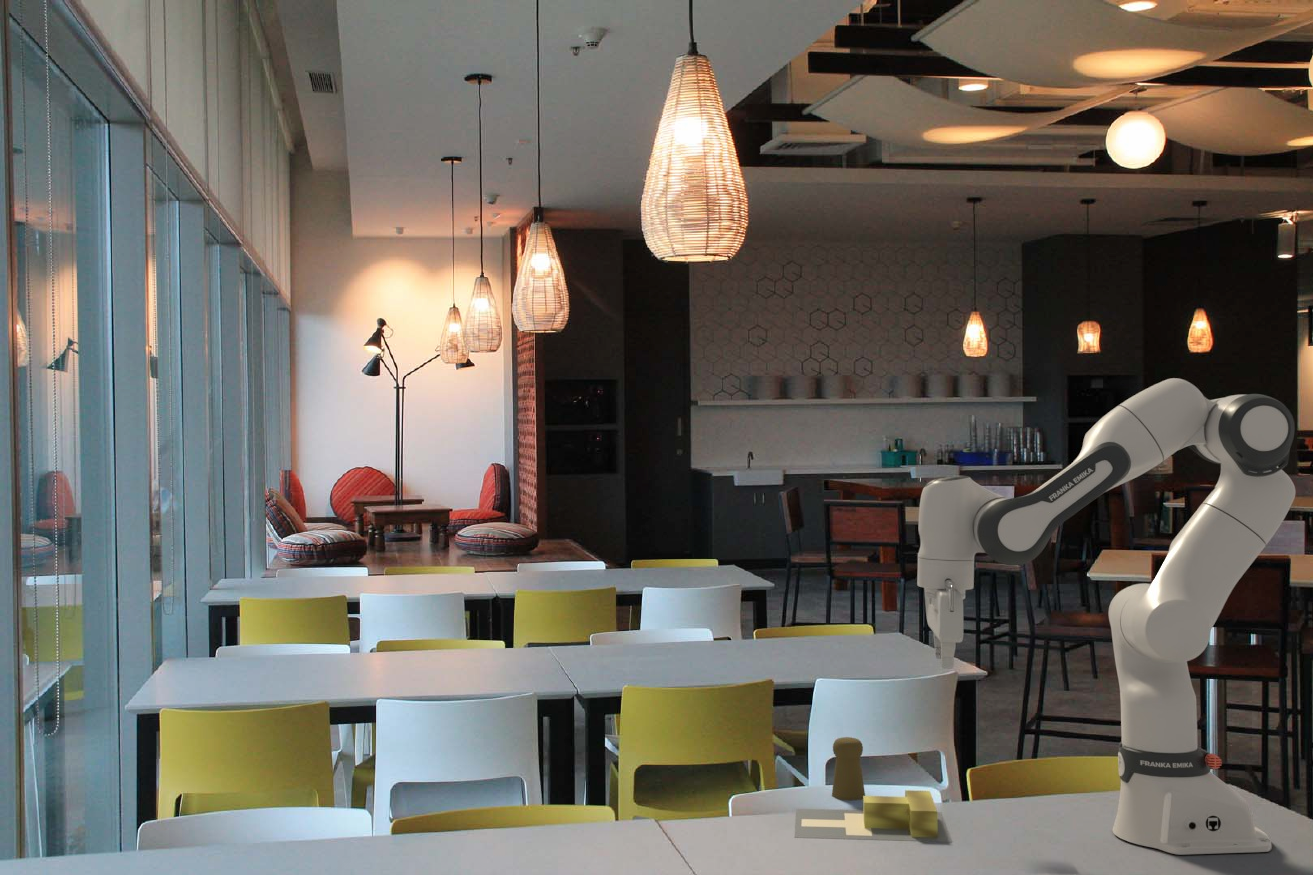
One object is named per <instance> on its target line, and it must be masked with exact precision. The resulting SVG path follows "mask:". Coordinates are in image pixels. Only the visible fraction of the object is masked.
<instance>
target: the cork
mask: <svg viewBox="0 0 1313 875" xmlns="http://www.w3.org/2000/svg"><path fill="white" fill-rule="evenodd" d="M863 751H864V747H863V743H862V741H861V740H859V739H858V738H855V737H850V736H845V737H839V738H837V739H836V738H835V741H834V742H833V744H832V752H833V754H834V756H835V766H834V772H833V773H834V774H833V783H832V792H831V797H832V798H835V799H837V800H842V801H860V800H863V796H866V793H865V792H866V791H865V783H864V778H863V777H864V776H863V771H862V764H861V756H862V755H863Z"/></svg>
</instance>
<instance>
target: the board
mask: <svg viewBox="0 0 1313 875" xmlns="http://www.w3.org/2000/svg"><path fill="white" fill-rule="evenodd" d="M794 823H795V824H794V838H795V839H796V838H797V839H825V840H827V839H828V840H830V839H831V840H858V841H859V840H862V841H867V840H868V841H900V842H903V841H905V842H929V843H930V842H931V843H932V842H933V843H939V842H940V843H953V839H952V836H951V835H950V832H949V830H948V826H947V823H946V821H945V819H944V816H943V813H942V812H941V811H937V826H938V838H937V837H911V833H910V830H909V829H885V828H865V827H864V815H863V809H862V810H859V809H826V808H825V809H823V808H822V809H821V808H795V822H794Z"/></svg>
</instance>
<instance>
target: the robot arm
mask: <svg viewBox="0 0 1313 875" xmlns="http://www.w3.org/2000/svg"><path fill="white" fill-rule="evenodd" d="M1295 429H1296V428H1295V420H1294V417H1293V414H1292V413H1291V411H1290V410H1289V409H1288V408H1287V406H1286V405H1285V404H1284V403H1282V401H1279V400H1278V399H1276V398H1274V397H1271V396H1268V395H1265V394H1259V393H1250V394H1234V395H1228V396H1225V397H1220V398H1214V399H1208V398H1207V397H1206V396H1204V394H1203V392H1201V391H1200V389H1199V388H1198V387H1197V386H1195V385H1194V384H1193V383H1191V382H1189V381H1188V380H1186V379H1182V378H1175V377H1173V378H1167V379H1165V380H1162V381H1160V382H1158V383H1155V384H1153V385H1151V386H1149V387H1148V388H1145V389H1143V390H1142V391H1139V392H1138V393H1136V394H1135V395H1132V396H1131V397H1129V398H1128V399H1126V400H1124V401H1123V402H1121V403H1120V404H1118V405H1117V406H1115V407H1114V408H1113V409H1111V410H1110V411H1109V412H1107V413H1106V414H1105V415H1103V416H1102V417H1101V418H1100V419H1099V420H1098V421H1096V423H1095V424H1094V425H1093V426H1092V427H1091V428H1090V429H1089V430H1088V431H1087V432H1086V433H1085V435H1084V438H1083V442H1082V447H1081V450H1080V452H1079V454H1078V455H1077V457H1076V458H1075V459H1074V460H1073V462H1071V464H1069V465H1067V466H1066V467H1065V468H1064V469H1062V470H1061V471H1060V472H1058V473H1057V474H1055V475H1054V476H1053V477H1051V478H1050V479H1049V480H1047V481H1046V482H1044V483H1043V484H1042V485H1040V486H1039V487H1038V488H1036V489H1035V490H1033V491H1032V492H1030V493H1027V494H1026V495H1023V496H1018V497H1013V498H1009V497H1006V496H1003V495H1001V494H998V493H996V492H994V491H992V490H990V489H987V488H986V487H984V486H983V485H980V484H979V483H977V482H976V481H974V480H973V479H972V478H971V477H970V476H967V475H956V476H945V477H939V478H936V479H933V480H930V481H929V482H927V483H926V485H924V487H923V488H922V491H921V495H920V502H919V508H918V509H919V510H918V524H917V525H918V535H919V539H920V540H919V541H920V547H919V549H918V553H917V576H916V579H917V582H916V584H917V586H918V587H920V588H923V589H924V601H925V602H924V603H925V614H926V621H927V625H928V627H929V628H930V630H931V631H932V632H933V644H934V657H935V658H936V659H937V660H940V666H941V668H942V669H950V670H951V669H953V668H954V663H955V662H954V660H955V659H954V657H955V653H956V649H957V648H956V646H957V645H956V644H958V643H962V642H963V639H964V600H965V599H966V591H968V590H973V589H974V586H975V585H974V583H975V580H974V579H975V556H976V554H977V553H983V554H984V553H985V554H986V555H987V556H988V557H989V558H991V559H992V560H993V561H995V562H996V563H998V564H1003V565H1005V566H1021V565H1026V564H1028V563H1030V562H1031V561H1034V560H1035V559H1036V558H1037V557H1038V556H1039V555H1040V554H1041V553H1042V552H1043V551H1044V549H1045V547H1046V546H1047V545H1048V542H1050V541H1049V540H1050V538H1052V536H1053V534H1054V533H1055V531H1056V530H1057V529H1058V528H1059V527H1060V526H1061V525H1062V524H1063V523H1064V522H1065V521H1067V520H1069V519H1070V518H1071V517H1073V516H1074V515H1076V514H1077V513H1078V512H1079V511H1081V510H1082V509H1083V508H1085V507H1086V506H1088V505H1090V503H1092V502H1093V501H1094V500H1096V499H1097V498H1099V497H1101V495H1103V494H1104V493H1106V492H1108V491H1110V490H1112V489H1114V488H1116V487H1119V486H1120V485H1122V484H1126V483H1127V482H1130V481H1132V480H1133V479H1135V478H1138V477H1140V476H1142V475H1144V474H1145V473H1146V472H1148V471H1150V470H1152V469H1154V468H1155V467H1156V466H1158V465H1160V464H1161V463H1162V462H1164V461H1165V460H1167V459H1168V458H1169V457H1171V456H1172V455H1174V454H1175V453H1176V452H1177V451H1180V450H1182V449H1184V448H1186V447H1187V448H1188V449H1190V450H1191V451H1193V453H1195V454H1196V455H1198V456H1199V457H1200V458H1202V459H1203V460H1205V461H1207V462H1210V463H1212V464H1217V465H1220V472H1219V473H1220V475H1219V477H1218V480H1217V483H1216V484H1215V486H1214V489H1213V490H1211V492H1210V493H1209V494H1208V496H1206V498H1205V499H1204V500H1203V502H1202V503H1201V504H1200V505H1199V506H1198V508H1197V510H1196V511H1195V512H1194V513H1193V515H1191V517H1190V518H1189V520H1187V522H1186V523H1185V524H1184V526H1183V527H1182V528H1181V529H1180V531H1179V532H1178V533H1177V535H1176V536H1175V537H1174V538H1173V539H1172V541H1171V542H1170V545H1169V548H1168V552H1167V554H1166V557H1165V559H1164V561H1163V563H1162V565H1161V566H1160V568H1159V570H1158V572H1157V574H1156V575H1155V578H1154V579H1153V580H1152V582H1151V583H1146V582H1145V583H1144V582H1142V583H1136V584H1131V585H1130V586H1126V587H1125V588H1123V589H1121V590H1120V591H1118V592H1117V593H1116V594H1115V596H1114V597H1113V598H1112V600H1111V601H1110V604H1109V607H1108V620H1109V626H1110V629H1111V638H1112V647H1113V648H1112V649H1113V654H1114V662H1115V667H1116V673H1117V680H1118V684H1119V695H1120V696H1119V697H1120V722H1121V723H1120V728H1121V732H1120V733H1121V741H1120V742H1119V743H1118V752H1117V759H1118V760H1117V761H1118V762H1117V763H1118V766H1117V768H1118V775H1119V778H1120V788H1119V789H1120V790H1119V800H1118V806H1117V812H1116V816H1115V820H1114V824H1113V827H1112V833H1113V834H1114V835H1115V836H1116V837H1118V838H1120V839H1121V840H1124V841H1127V842H1129V843H1132V844H1136V845H1139V846H1142V847H1143V846H1144V847H1148V848H1153V849H1157V850H1160V851H1163V852H1166V853H1169V854H1174V855H1183V856H1184V855H1205V854H1206V855H1207V854H1210V855H1211V854H1237V853H1239V854H1240V853H1241V854H1242V853H1243V854H1244V853H1265V852H1270V851H1271V850H1272V848H1273V847H1272V840H1271V838H1270V837H1269V836H1268V834H1267V833H1266V832H1264V831H1263V830H1261V829H1260V828H1258V827H1257V826H1255V822H1254V816H1253V814H1252V810H1251V808H1250V805H1249V803H1248V802H1247V801H1246V799H1245V798H1244V797H1243V796H1241V795H1240V794H1239V793H1238V792H1237V791H1236V790H1235V789H1234V788H1232V787H1230V786H1229V784H1228V783H1226V782H1224V781H1223V780H1222V779H1220V778H1219V777H1217V775H1215V774H1214V773H1212V772H1211V770H1212V769H1213V770H1218V769H1220V768H1221V767H1220V766H1222V763H1223V762H1222V759H1221V758H1220V757H1219V756H1218V755H1216V754H1215V753H1213V752H1212V753H1210V752H1209V751H1207V750H1205V749H1203V748H1201V747H1200V746H1198V712H1197V711H1198V710H1197V706H1198V705H1197V696H1196V693H1195V690H1194V687H1193V684H1192V680H1191V676H1190V672H1189V671H1190V670H1189V666H1188V662H1189V661H1192V660H1194V659H1196V658H1198V657H1199V656H1200V655H1201V654H1202V653H1203V652H1204V651H1205V650H1206V648H1207V646H1208V644H1209V642H1210V639H1211V633H1212V632H1211V631H1212V629H1213V628H1214V625H1215V623H1216V622H1217V620H1218V618H1219V617H1220V614H1221V613H1222V610H1223V609H1224V607H1225V604H1226V603H1227V601H1228V598H1229V597H1230V595H1231V593H1232V592H1233V590H1234V588H1235V587H1236V585H1237V584H1238V583H1239V580H1240V579H1241V578H1242V577H1243V575H1244V574H1245V573H1246V572H1247V571H1248V569H1249V568H1250V566H1251V565H1252V564H1253V563H1254V562H1255V560H1256V559H1257V558H1258V557H1259V555H1260V554H1261V552H1262V551H1263V550H1264V549H1265V548H1266V546H1267V545H1268V543H1269V542H1270V541H1271V540H1272V538H1273V536H1274V535H1275V534H1276V532H1277V531H1278V530H1279V528H1280V526H1281V525H1282V523H1283V521H1284V520H1285V518H1286V516H1287V514H1288V512H1289V511H1290V508H1291V507H1292V504H1293V503H1294V500H1295V497H1296V486H1295V484H1294V482H1293V481H1292V479H1291V477H1290V475H1288V474H1287V473H1286V472H1285V471H1284V470H1283V469H1284V468H1285V467H1287V465H1288V463H1289V459H1290V452H1291V450H1290V449H1291V446H1292V444H1293V441H1294V437H1295ZM1281 464H1282V465H1281Z"/></svg>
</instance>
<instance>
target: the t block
mask: <svg viewBox="0 0 1313 875" xmlns="http://www.w3.org/2000/svg"><path fill="white" fill-rule="evenodd" d="M862 803H863V809H862V810H863V815H864V827H865V828H885V829H909V830H910V833H911V837H937V838H938V826H937V812H938V810H937V807H936V804H935V801H934V798H933V796H932V794H931V791H930V790H911V789H909V790H906V789H905V790H904V796H889V795H888V796H887V795H886V796H884V795H883V796H882V795H880V796H879V795H877V796H876V795H865V796H863V799H862Z"/></svg>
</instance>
